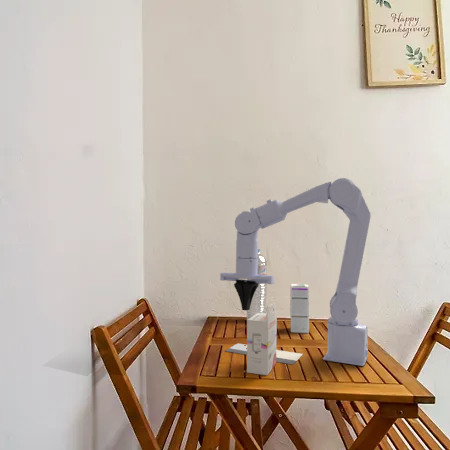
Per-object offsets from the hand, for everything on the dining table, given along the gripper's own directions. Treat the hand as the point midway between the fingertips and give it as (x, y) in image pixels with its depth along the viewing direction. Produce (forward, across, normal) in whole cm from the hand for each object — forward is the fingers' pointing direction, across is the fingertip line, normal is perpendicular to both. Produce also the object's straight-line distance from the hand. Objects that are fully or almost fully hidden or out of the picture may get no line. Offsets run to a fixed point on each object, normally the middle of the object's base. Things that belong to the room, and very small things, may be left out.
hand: (245, 309), depth 104 cm
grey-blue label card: (+10, 0, 0) cm, 10 cm away
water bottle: (+11, +10, -33) cm, 36 cm away
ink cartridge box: (+11, -9, +11) cm, 18 cm away
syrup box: (+11, -7, -27) cm, 30 cm away
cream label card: (+10, -10, +1) cm, 14 cm away
